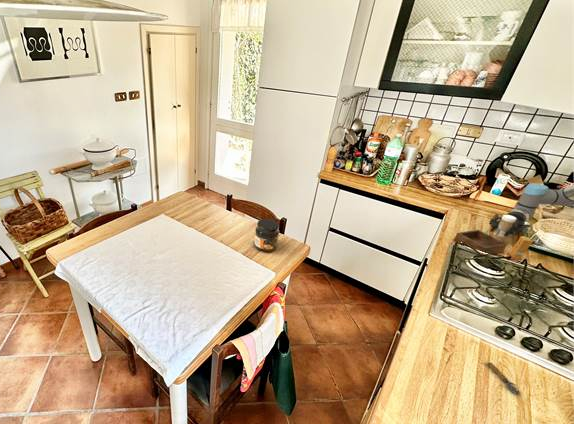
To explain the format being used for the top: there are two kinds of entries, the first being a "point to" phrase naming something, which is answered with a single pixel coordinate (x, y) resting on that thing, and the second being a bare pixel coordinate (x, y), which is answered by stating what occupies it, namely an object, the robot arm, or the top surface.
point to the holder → (481, 241)
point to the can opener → (509, 384)
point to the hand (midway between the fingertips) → (499, 231)
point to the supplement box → (520, 247)
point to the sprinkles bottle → (503, 227)
